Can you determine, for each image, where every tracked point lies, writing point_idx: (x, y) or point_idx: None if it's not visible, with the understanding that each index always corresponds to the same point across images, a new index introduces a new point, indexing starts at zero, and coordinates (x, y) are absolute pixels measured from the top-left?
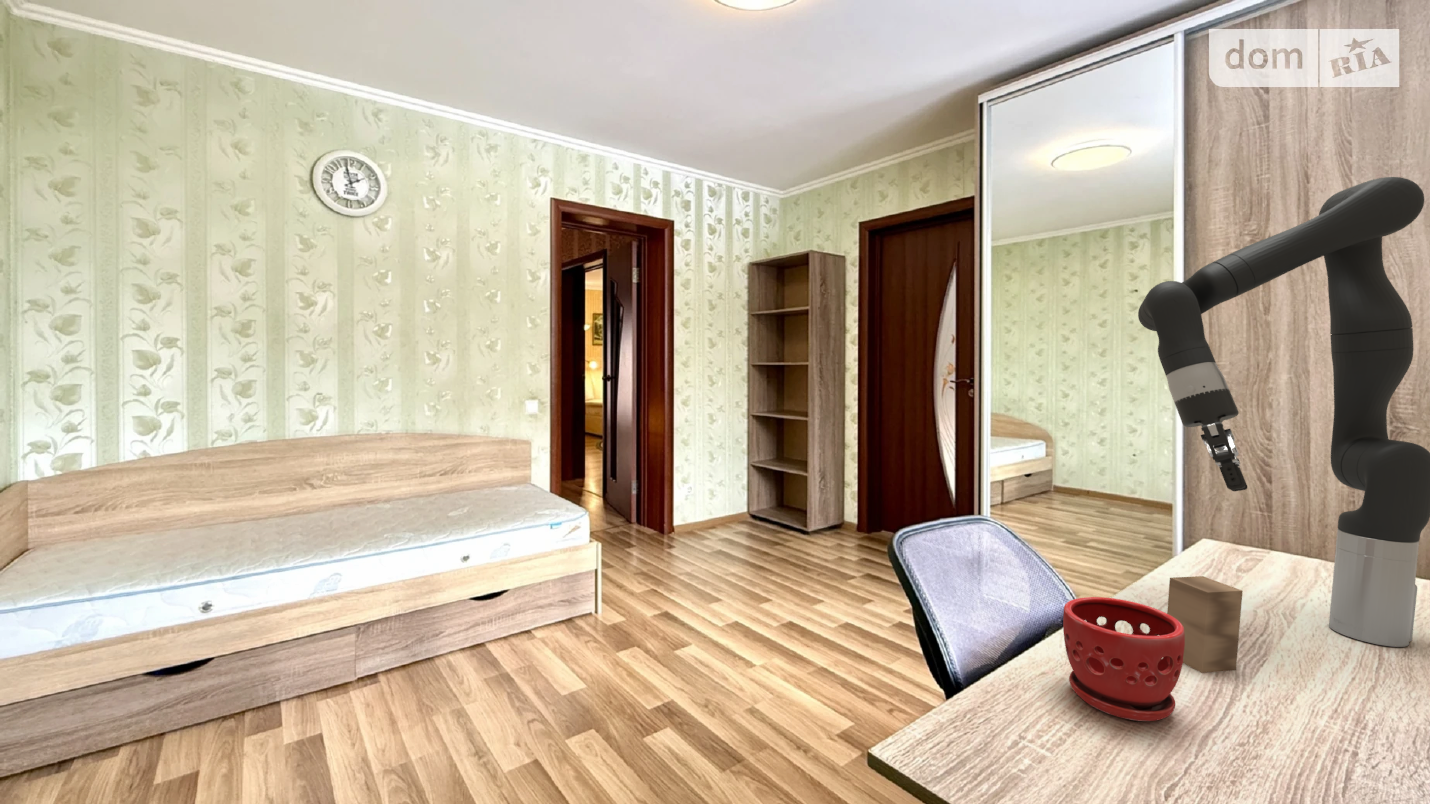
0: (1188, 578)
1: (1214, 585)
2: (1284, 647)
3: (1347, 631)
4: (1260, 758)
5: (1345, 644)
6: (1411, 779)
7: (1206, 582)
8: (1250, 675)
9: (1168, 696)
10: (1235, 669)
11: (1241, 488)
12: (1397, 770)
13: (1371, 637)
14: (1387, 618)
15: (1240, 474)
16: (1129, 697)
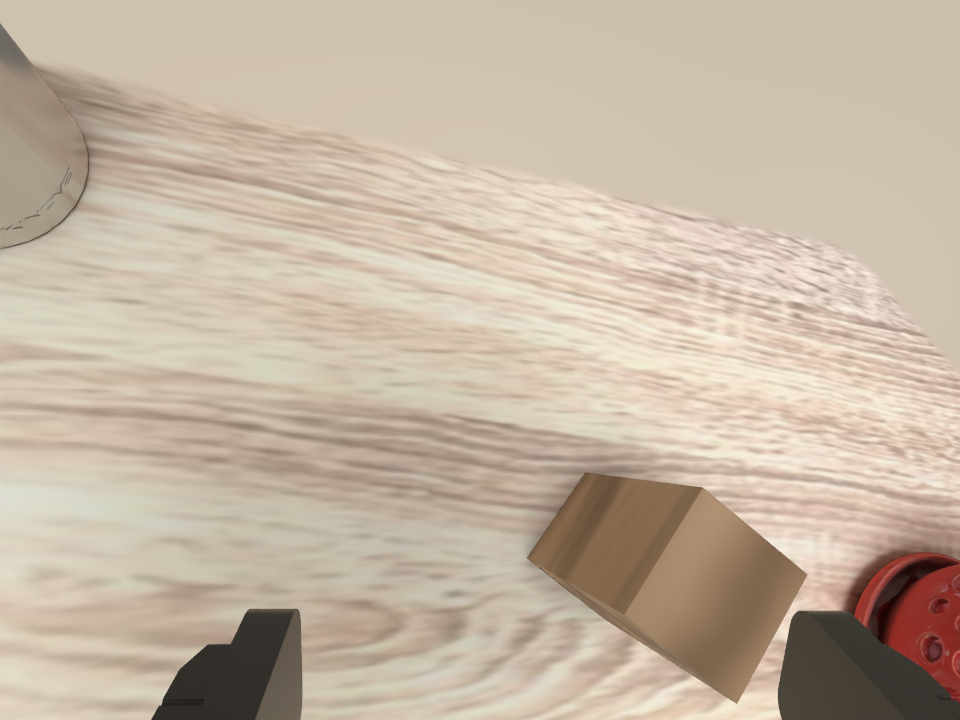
0: (695, 650)
1: (712, 567)
2: (319, 375)
3: (58, 211)
4: (917, 426)
5: (150, 232)
6: (820, 249)
7: (696, 593)
8: (592, 445)
9: (904, 568)
10: (585, 474)
11: (295, 652)
12: (807, 261)
13: (80, 161)
14: (47, 94)
15: (928, 695)
16: None
